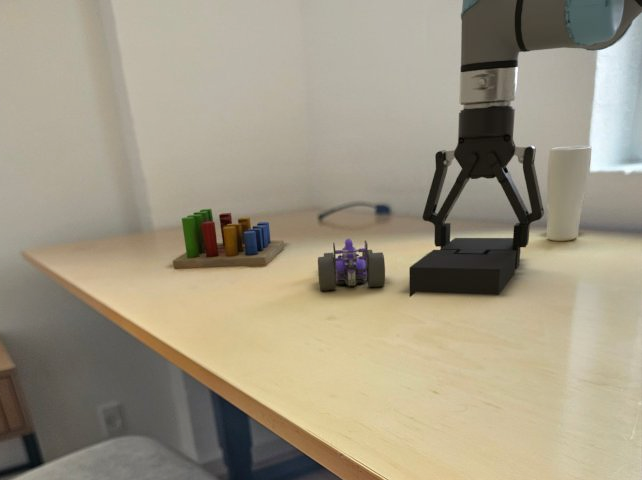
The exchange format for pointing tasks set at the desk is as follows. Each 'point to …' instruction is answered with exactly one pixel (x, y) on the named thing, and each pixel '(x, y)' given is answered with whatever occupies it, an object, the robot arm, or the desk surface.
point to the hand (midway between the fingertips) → (479, 268)
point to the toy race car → (351, 267)
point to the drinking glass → (566, 190)
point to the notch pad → (462, 272)
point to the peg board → (225, 243)
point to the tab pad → (478, 245)
